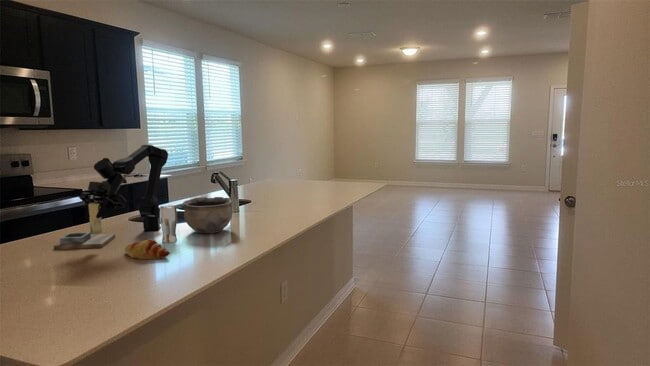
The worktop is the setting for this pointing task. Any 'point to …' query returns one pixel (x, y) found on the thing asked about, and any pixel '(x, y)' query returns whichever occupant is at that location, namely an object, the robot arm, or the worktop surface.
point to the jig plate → (83, 240)
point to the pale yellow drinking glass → (95, 222)
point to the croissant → (146, 250)
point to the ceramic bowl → (208, 214)
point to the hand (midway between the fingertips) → (92, 217)
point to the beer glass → (168, 223)
